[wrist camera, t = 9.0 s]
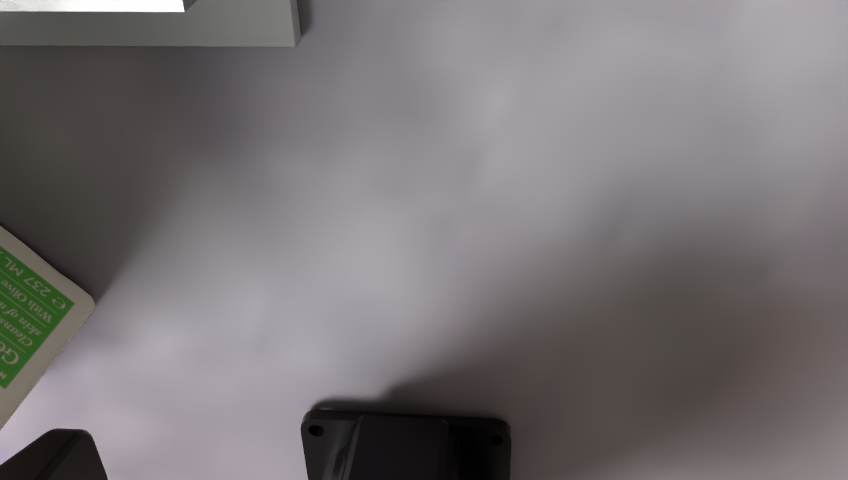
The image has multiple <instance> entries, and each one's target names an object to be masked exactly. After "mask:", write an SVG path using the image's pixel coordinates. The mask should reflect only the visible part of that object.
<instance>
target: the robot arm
mask: <svg viewBox="0 0 848 480" xmlns="http://www.w3.org/2000/svg"><path fill="white" fill-rule="evenodd" d="M315 425H319V426H321V427H317V426H315ZM490 434H498V435H499V436H491V435H490ZM301 435H302V442H303V448H304V455H305V461H306V468H307V474H308V480H510V458H511V428H510V426H509V425H508V423H507V422H505V421H503V420H500V419H495V418H475V417H455V416H435V415H415V414H394V413H374V412H354V411H334V410H311V411H309V412H307V413H306V414H305V416H304V418H303V421H302V424H301ZM0 480H108V479H107V475H106V472H105V469H104V467H103V464H102V461H101V459H100V456H99V453H98V451H97V448H96V445H95V442H94V440H93V437H92V436H91V434H90V433H89V432H87V431H86V430H83V429H52V430H50V431H48V432H46V433H45V434H43V435H42V436H40V437H39V438H38V439H36V440H35V441H33V442H32V443H31V444H29V445H28V446H26V447H25V448H24V449H22V450H21V451H19V452H18V453H17V454H15V455H14V456H12V457H11V458H10V459H8V460H7V461H5V462H4V463H3V464H1V465H0Z"/></svg>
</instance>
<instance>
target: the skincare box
mask: <svg viewBox="0 0 848 480" xmlns="http://www.w3.org/2000/svg"><path fill="white" fill-rule="evenodd" d="M94 309H95V303H94V300H93V298H92V297H91V296H90V295H89V294H88V293H86V292H85V291H84V290H83V289H81V288H80V287H79V286H77V285H76V284H75V283H73V282H72V281H71V280H69V279H68V278H66V277H65V276H63V275H62V274H60V273H59V272H57V271H56V270H55V269H54V268H53V267H52V266H50V265H49V264H48V263H47V262H46V261H44V260H43V259H42V258H41V257H40V256H38V255H37V254H36V253H35V252H34V251H32V250H31V249H30V248H29V247H27V246H26V245H25V244H24V243H22V242H21V241H20V240H18V239H17V238H16V237H15V236H13V235H12V234H11V233H9V232H8V231H7V230H5V229H4V228H3V227H1V226H0V430H1V429H2V428H3V426H4V425H5V424H6V422H7V421H8V420H9V419H10V417H11V416H12V415H13V413H14V412H15V411H16V409H17V408H18V407H19V405H20V404H21V403H22V402H23V400H24V399H25V398H26V396H27V395H28V394H29V393H30V391H31V390H32V389H33V387H34V386H35V385H36V384H37V382H38V381H39V380H40V378H41V377H42V376H43V375H44V373H45V372H46V371H47V369H48V368H49V367H50V366H51V364H52V363H53V362H54V361H55V359H56V358H57V357H58V356H59V354H60V353H61V352H62V350H63V349H64V348H65V347H66V345H67V344H68V343H69V342H70V340H71V339H72V338H73V336H74V335H75V334H76V333H77V331H78V330H79V329H80V327H81V326H82V325H83V323H84V322H85V321H86V320H87V318H88V317H89V316H90V314H91V313H92V312H93V311H94Z"/></svg>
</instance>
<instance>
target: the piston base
mask: <svg viewBox="0 0 848 480" xmlns="http://www.w3.org/2000/svg"><path fill="white" fill-rule="evenodd" d="M300 39H301V32H300V23H299V14H298V6H297V0H198V1H196V2H195V3H194V4H193V5H192V6H191V7H190V8H188V9H187V10H186V11H185V12H78V11H0V45H24V46H208V47H296V45H297V44H298V42H299V41H300Z"/></svg>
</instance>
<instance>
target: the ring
mask: <svg viewBox="0 0 848 480" xmlns="http://www.w3.org/2000/svg"><path fill="white" fill-rule="evenodd" d="M196 1H198V0H0V11H78V12H185V11H186V10H187V9H188V8H190V7H191V6H192V5H193V4H194V3H195V2H196Z"/></svg>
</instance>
